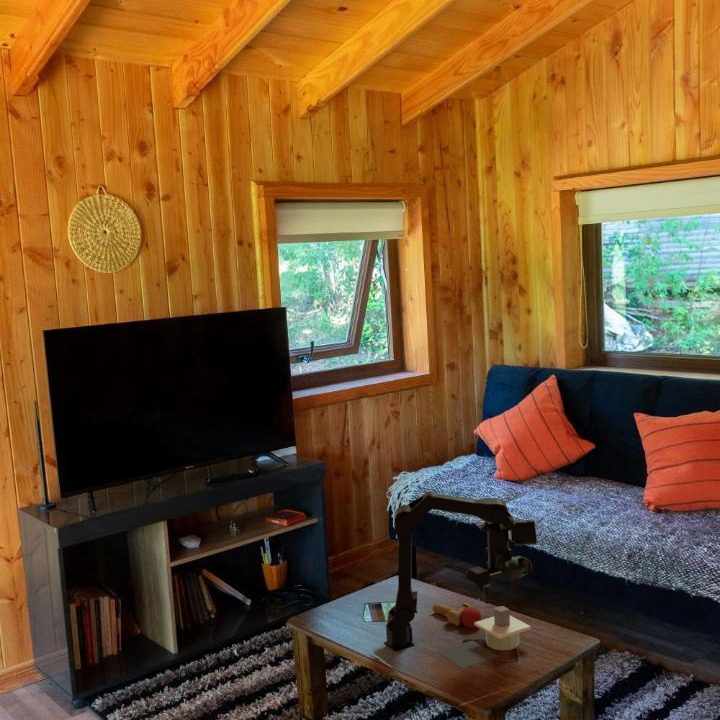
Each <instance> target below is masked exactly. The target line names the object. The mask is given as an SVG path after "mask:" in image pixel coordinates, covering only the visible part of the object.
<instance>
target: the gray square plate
mask: <svg viewBox="0 0 720 720" xmlns="http://www.w3.org/2000/svg"><path fill="white" fill-rule="evenodd" d="M437 653H438V654H440V655H441V656H443V657H444V658H445V659H447V660H448V661H450V662H452V664H454V665H456V666H457V667H460V668H461V669H466V668H469V667H471V666H475V665H477V664H481V663H484V662H486V661H489V660H492V659H496V658H499V657H500V656H499V655H498V654H496V653H494V652H493V651H491V650H489V649H487V648H486V647H484V646H482V645H481V644H479V643H477V642H475V640H469V641H467V642H464V643H460V644H458V645H454V646H450V647H448V648H444V649H441V650H437Z"/></svg>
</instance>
